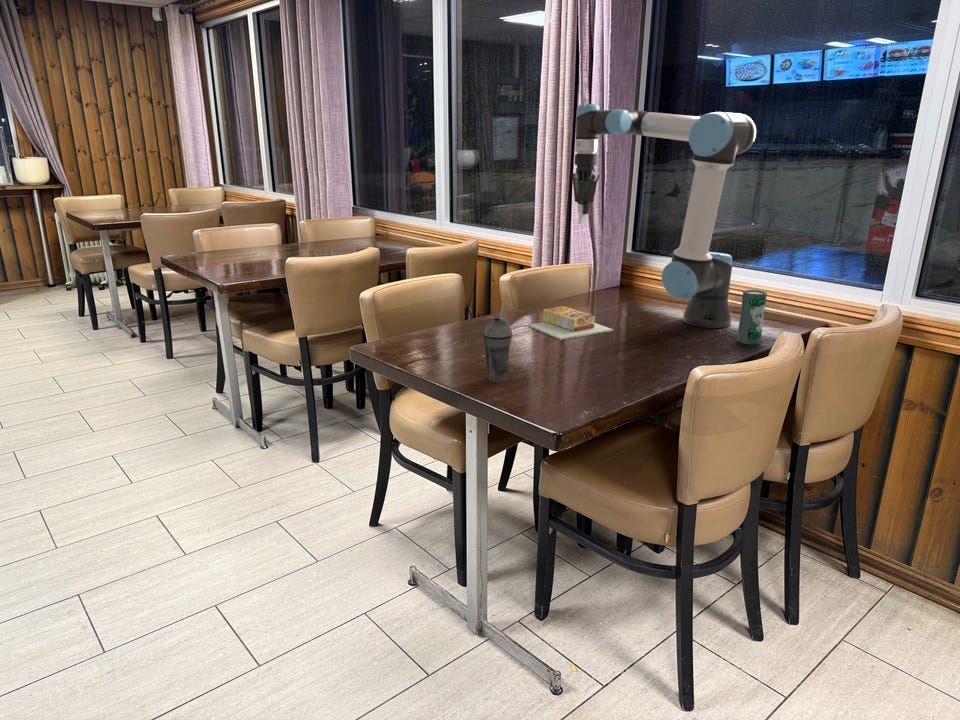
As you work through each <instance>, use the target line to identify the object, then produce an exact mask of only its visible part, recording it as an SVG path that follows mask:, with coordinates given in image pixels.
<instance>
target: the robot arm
mask: <svg viewBox="0 0 960 720" xmlns="http://www.w3.org/2000/svg"><path fill="white" fill-rule="evenodd" d="M599 135H615V136H617V135H633V136H643V137H653V138H661V139H665V140H666V139H669V140H675V141H681V142H682V141H683V142H688V144H689V147H691V149H690V150H692V158H691V161H692V163H693V164H694V165H695V170H694V175H693V178H692V183H691V189H690V194H689V200H688V202H687V203H688V205H687V209H686V214H685V219H684V223H683V229H682V233H681V239H680V243H679V246H678V248H676V249H674V250H673V252H672V256H671V261H670V262H669V263H668V264H667V265H665V266H664V267H663V270H662V272H661V284H662V286H663V288H664V289H665V291H666V293H667V294H668V295H670V297H672V298H675V299H679V300H682V299H683V300H684V299H689V300H688V302H687V304H686V305H687V306H686V308H685V310H684V311H683V314H682V315H683V316H682V322H684V323H685V324H687V325H690V326H693V327H699V328H706V329H707V328H709V329H711V328H712V329H713V328H714V329H719V328H726V327H730V326H731V324H732V315H731V311H730V304H729V294H730V287H731V286H730V285H731V278H732V271H733V270H732V269H733V257H732V255H731V254H728V253H723V252H714V251H710V246H711V242H712V238H713V237H712V236H713V232H714V229H715V225H716V219H717V215H718V210H719V205H720V201H721V198H722V194H723V193H722V192H723V188H724V183H725V179H726V174H727V171H728V170H729V168H731V167H733V166H734V165H735V160H736V156H738V155H740V154H743V153H745V152H746V151H748V149H750V148H751V147H752V145H753V143H755V139H756V135H757V128H756V124H755V123H754V121H753V120H752V118H751V117H750V116H748V115H747V114H743V113H740V112H735V113H734V112H723V111H715V112H709V113H706V114H705V113H704V114H703V115H702V116H697V115H696V116H695V115H685V114H676V113H675V114H672V113H664V112H654V111H653V112H652V111H650V112H649V111H645V110H627V109H621V108H619V109H618V108H615V109H608V110H607V109H606V110H605V109H604V110H602V109H601V110H600V105H599V104H596V103H593V104H592V103H590V104H589V103H588V104H584V103H583V104H580V105H579V104H578V106H577V108H576V117H575V145H574V146H575V149H574V152H576V153H575V154H574V165H576V168H575V172H574V173H571V180H572V185H573V197H574V202H575V203H577V204H578V212H577V213H578V224H581V225H583V224H585V225H586V224H588V216H589V210H590V209H589V208H590V207H589V205H590V204H592V203H594V201H595V200H594V199H595V194H596V191H597V184H598V181H599V179H600V174H596V170H595V166H596V165H597V164H598V154H597V152H598V150H599V149H598V148H599V147H598V146H599V145H598V144H599Z"/></svg>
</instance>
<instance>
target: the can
mask: <svg viewBox="0 0 960 720" xmlns="http://www.w3.org/2000/svg"><path fill="white" fill-rule="evenodd" d="M767 296H768V293H767V292H766V291H763V290H758V289H757V290H756V289H748V290H747V289H746V290H742V297H741V298H742V299H741V306H740V313H739V314H740V315H739V322H738V323H739V324H738V330H737V331H738V332H737V340H736V341H737V342H738V343H741V344H744V345H759V344H761V339H762V332H763V324H764V317H765V309H766V304H767Z"/></svg>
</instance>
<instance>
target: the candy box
mask: <svg viewBox="0 0 960 720" xmlns="http://www.w3.org/2000/svg"><path fill="white" fill-rule="evenodd" d="M542 312H543V314H542V315H543V316H542V318H543V319H542V320H543V321H542V322H548V323H551V324H554V325H556V326H559V327H562V328H565V329H568V330H570V331H573V332H574V331H579V330H584V329H589V328H594V323H596V322H595V319H596V315H593V314H590V313H587V312H583V311H579V310H578V309H574V308H570V307H567V306H565V305H564V306H557V307H551V308H544V309H543V311H542Z"/></svg>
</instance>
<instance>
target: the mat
mask: <svg viewBox="0 0 960 720" xmlns="http://www.w3.org/2000/svg"><path fill="white" fill-rule="evenodd" d="M527 327H529V328H531V329H533V328H534V329H533V330H535V331H538V330H539V331H538V332H541V333H543V334H545V335H548V336H551V337H552V338H555V339H557V340H559V341H563V339H564V340H569V338H570V339H575V338H574V337H576V338H582V337H587V336H593V334H594V335H599V333H600V334H605V333H604V332H606V333H611V332H610V331H612V332H613V331H614V329H613V328H611V327H610V328H609V327H608V326H605V325H602V324H599V323H596V322H595V323H594V328H589V329H584V330H579V331H574V332H573V331H570V330H568V329H565V328H562V327H559V326H556V325H554V324H551V323H548V322H545V321H542V322H535V323H531V324H530V323H529V324H528V325H527ZM581 336H582V337H581Z"/></svg>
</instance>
